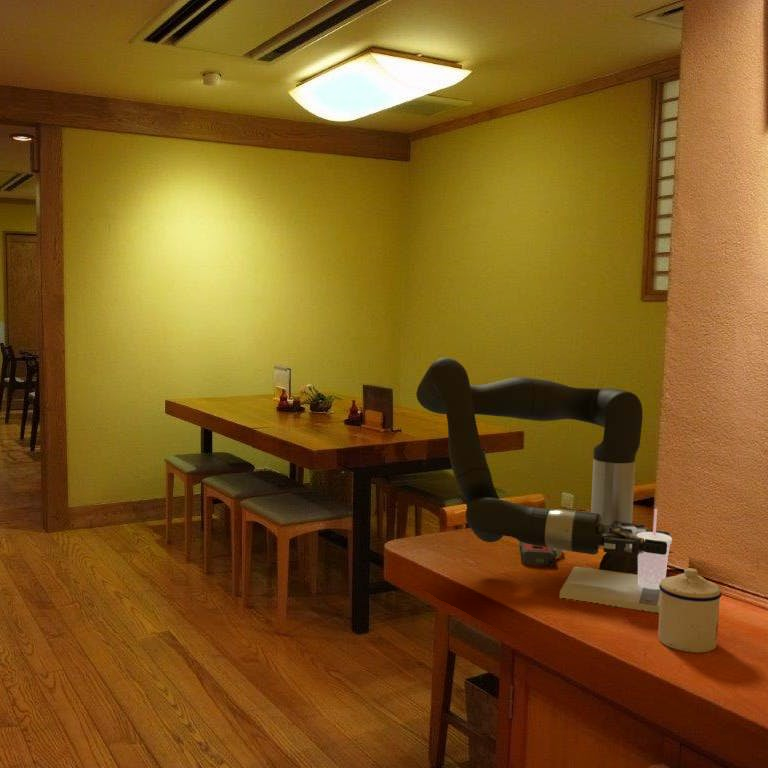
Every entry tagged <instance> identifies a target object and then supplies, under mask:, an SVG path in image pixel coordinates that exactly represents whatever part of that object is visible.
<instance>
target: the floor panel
mask: <svg viewBox="0 0 768 768" xmlns="http://www.w3.org/2000/svg"><path fill="white" fill-rule="evenodd" d="M660 593H661V590H660V589H648V588H644V587H641V586H639V585H638V574H634V573H622V572H614V571H607V570H600V569H599V568H592V567H585V566H584V567H583V566H577V565H575V566H574V567H572V570H571V572H570V573H569V575H568V576H567V578H566V580H565V581H564V583H563V585H562V587H561V589H560V590H559V599H562V598H567V599H566V600H569V599H575V600H574V601H576V600H582V601H588V602H587V603H589V602H593V603H592V604H595V603H599V604H598V605H602V604H605V605H604V606H609V605H611V606H610V607H615V606H617V607H618V608H623V609H630V610H635V609H636V610H637V611H642V610H644V612H649V611H650V613H655V612H657V613H656V614H659V611H660ZM582 601H581V602H582Z"/></svg>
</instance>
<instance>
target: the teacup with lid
mask: <svg viewBox="0 0 768 768" xmlns="http://www.w3.org/2000/svg"><path fill="white" fill-rule="evenodd" d="M698 574H699V571H698V570H697V569H695V568H693V567H692V568H691V567H689V568H686V569H685V570H684V571H683V573H679V574H677V575H673V576H666V578H665V579H663V580H662V581H661V583H660V585H659V588H660V590H661V593H660V611H659V613H658V614H659V615H658V633H657V635H658V639H659V642H661V643H662V644H664V646H667V647H668V648H672V649H673V650H677V651H681V652H684V653H696V654H700V653H703V654H704V653H707V652H711V651H713V650H715V648H717V645H718V644H717V643H718V631H719V629H718V628H719V614H720V613H719V612H720V599H721V597H722V591H721V590H722V589H720V587H719V586H718V585H717V584H716V583H714V582H712V581H710V580H707V579H706V578H704V577H703V576H701V575H698Z"/></svg>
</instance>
